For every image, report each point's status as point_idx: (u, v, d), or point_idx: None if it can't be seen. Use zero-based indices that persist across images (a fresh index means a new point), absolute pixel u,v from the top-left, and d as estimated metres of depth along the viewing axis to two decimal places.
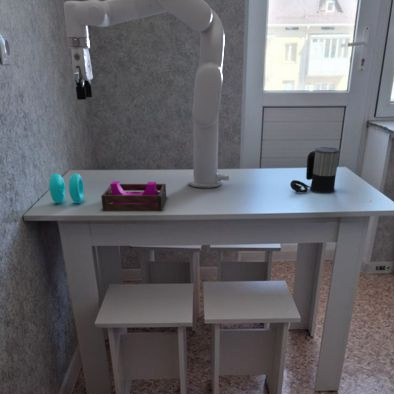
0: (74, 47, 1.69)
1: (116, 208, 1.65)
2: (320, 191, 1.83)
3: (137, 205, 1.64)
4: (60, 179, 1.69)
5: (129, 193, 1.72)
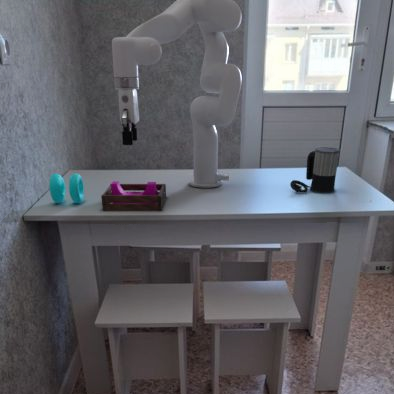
0: (122, 88, 1.50)
1: (116, 208, 1.65)
2: (320, 191, 1.83)
3: (137, 205, 1.64)
4: (60, 179, 1.69)
5: (129, 193, 1.72)
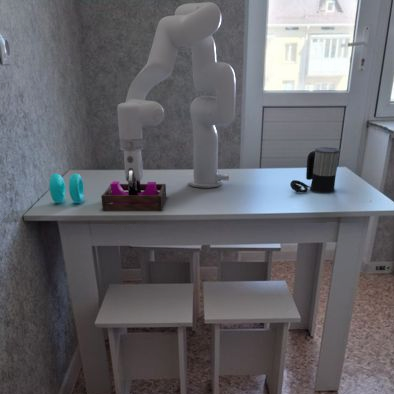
0: (127, 149, 1.59)
1: (116, 208, 1.65)
2: (320, 191, 1.83)
3: (137, 205, 1.64)
4: (60, 179, 1.69)
5: None
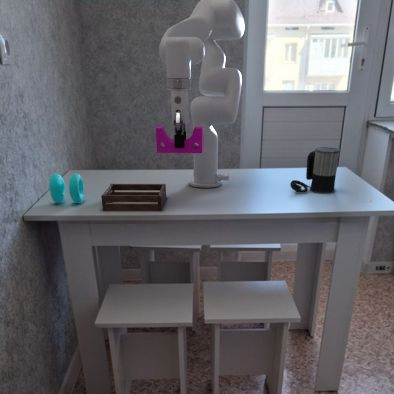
0: (175, 89, 1.50)
1: (116, 208, 1.65)
2: (320, 191, 1.83)
3: (137, 205, 1.64)
4: (60, 179, 1.69)
5: None
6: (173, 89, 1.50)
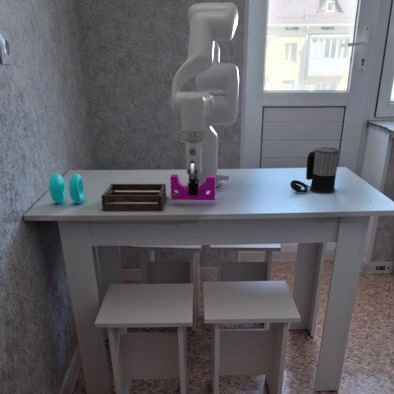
0: (190, 142, 1.57)
1: (116, 208, 1.65)
2: (320, 191, 1.83)
3: (137, 205, 1.64)
4: (60, 179, 1.69)
5: (187, 186, 1.70)
6: (188, 141, 1.58)
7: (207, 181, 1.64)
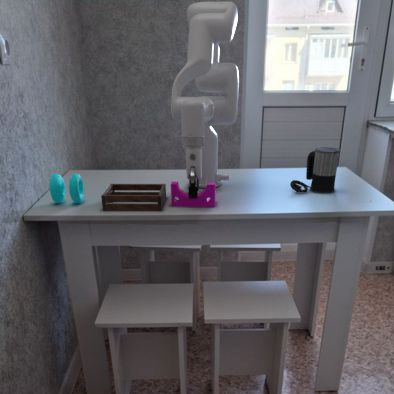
0: (190, 147, 1.58)
1: (116, 208, 1.65)
2: (320, 191, 1.83)
3: (137, 205, 1.64)
4: (60, 179, 1.69)
5: (187, 193, 1.71)
6: (188, 147, 1.59)
7: (207, 188, 1.65)
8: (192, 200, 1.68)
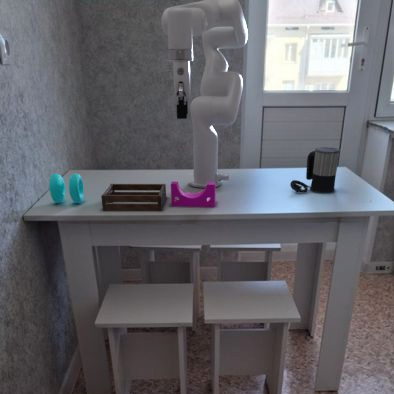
0: (178, 60, 1.49)
1: (116, 208, 1.65)
2: (320, 191, 1.83)
3: (137, 205, 1.64)
4: (60, 179, 1.69)
5: (187, 193, 1.71)
6: (175, 60, 1.49)
7: (207, 188, 1.65)
8: (192, 200, 1.68)
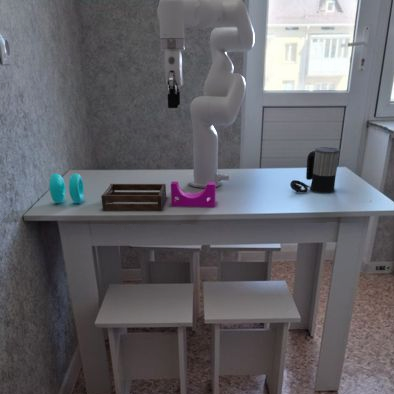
0: (169, 49, 1.50)
1: (116, 208, 1.65)
2: (320, 191, 1.83)
3: (137, 205, 1.64)
4: (60, 179, 1.69)
5: (187, 193, 1.71)
6: (167, 49, 1.50)
7: (207, 188, 1.65)
8: (192, 200, 1.68)
